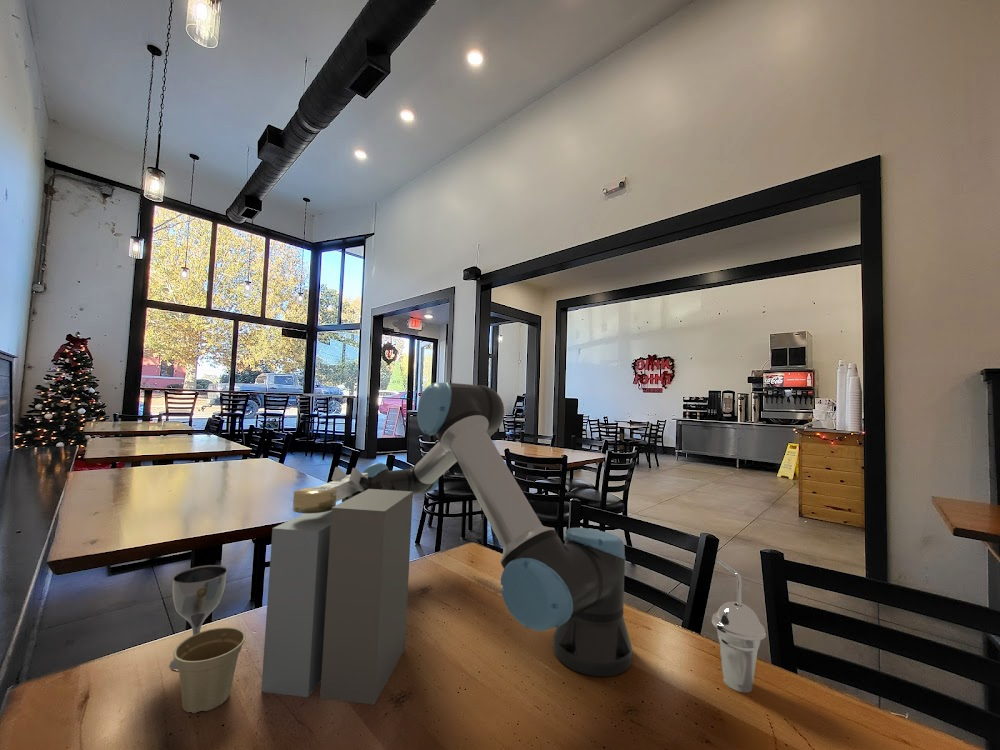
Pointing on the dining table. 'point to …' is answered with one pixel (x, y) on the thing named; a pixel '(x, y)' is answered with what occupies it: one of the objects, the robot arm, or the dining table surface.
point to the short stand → (296, 605)
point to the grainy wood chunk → (323, 495)
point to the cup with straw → (738, 640)
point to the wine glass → (198, 594)
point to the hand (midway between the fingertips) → (343, 473)
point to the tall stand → (366, 594)
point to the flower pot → (208, 667)
